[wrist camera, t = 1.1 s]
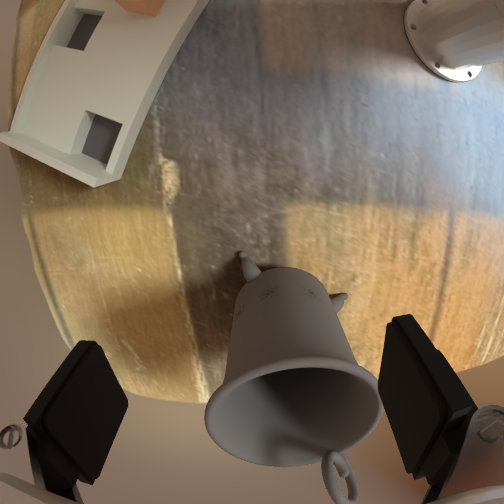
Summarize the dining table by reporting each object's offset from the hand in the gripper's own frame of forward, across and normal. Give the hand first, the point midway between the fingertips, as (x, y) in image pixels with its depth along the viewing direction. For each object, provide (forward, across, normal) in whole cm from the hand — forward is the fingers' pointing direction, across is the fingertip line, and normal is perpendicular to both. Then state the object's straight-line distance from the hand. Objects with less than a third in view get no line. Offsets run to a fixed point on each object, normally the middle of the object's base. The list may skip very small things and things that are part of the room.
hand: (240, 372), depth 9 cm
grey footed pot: (+26, -2, +14) cm, 30 cm away
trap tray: (+26, +16, -20) cm, 36 cm away
